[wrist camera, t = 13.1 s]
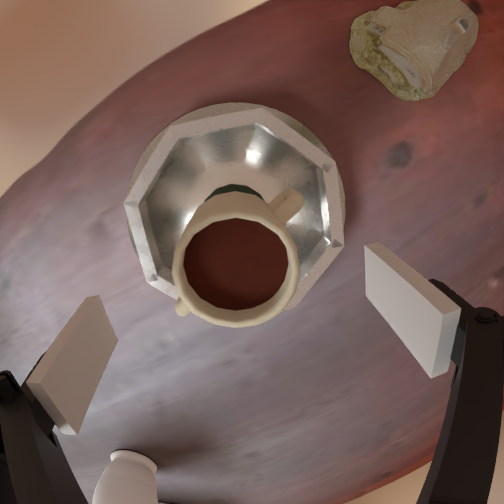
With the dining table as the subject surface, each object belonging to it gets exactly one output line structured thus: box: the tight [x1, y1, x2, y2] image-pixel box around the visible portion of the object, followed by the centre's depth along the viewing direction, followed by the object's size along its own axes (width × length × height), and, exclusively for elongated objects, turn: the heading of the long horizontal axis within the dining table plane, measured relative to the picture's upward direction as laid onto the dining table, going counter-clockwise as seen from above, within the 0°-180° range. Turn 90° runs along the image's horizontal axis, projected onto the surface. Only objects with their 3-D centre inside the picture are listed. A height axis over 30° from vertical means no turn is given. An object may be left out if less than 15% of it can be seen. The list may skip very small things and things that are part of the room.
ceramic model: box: [349, 0, 479, 101], centre depth 20 cm, size 14×11×10 cm
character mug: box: [172, 184, 304, 328], centre depth 23 cm, size 11×7×13 cm, turn 134°
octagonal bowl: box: [124, 102, 346, 311], centre depth 28 cm, size 21×21×3 cm
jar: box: [92, 450, 158, 504], centre depth 36 cm, size 11×10×15 cm
